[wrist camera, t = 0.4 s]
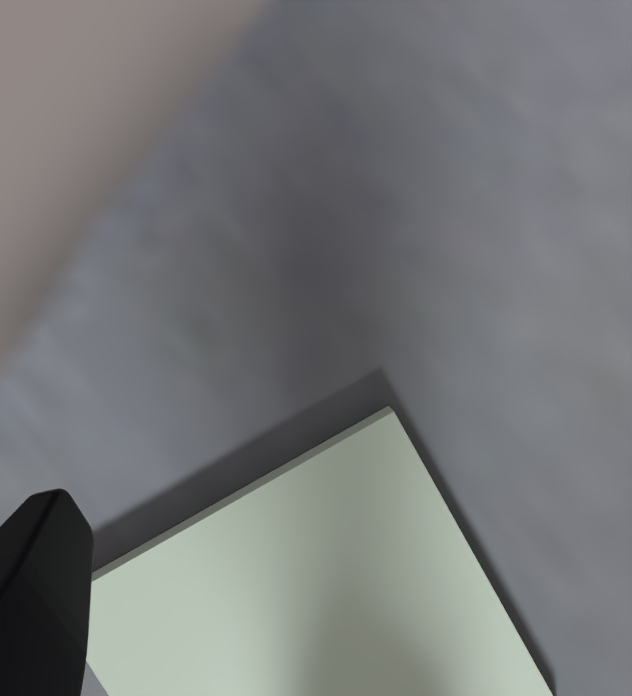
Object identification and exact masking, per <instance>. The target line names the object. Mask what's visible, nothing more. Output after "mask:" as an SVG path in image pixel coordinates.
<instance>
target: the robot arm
mask: <svg viewBox="0 0 632 696" xmlns="http://www.w3.org/2000/svg"><path fill="white" fill-rule="evenodd" d="M93 549H94V539H93V533H92V530H91V527H90V525H89V523H88V522H87V520H86V519H85V517H84V516H83V514H82V513H81V511H80V509H79V508H78V506H77V505H76V503H75V502H74V500H73V499H72V497H71V496H70V494H69V493H68V492H67V491H65V490H64V489H53V490H49V491H44V492H40V493H36V494H33V495H31V496H30V497H29V498H28V499H26V500H25V501H24V503H23V504H22V505H21V506H20V507H19V508H18V509H17V510H16V511H15V512H14V513H13V514H12V515H11V516H10V517H9V518H8V519H7V520H6V521H5V522H4V523H3V524H2V525H1V527H0V696H80V695H81V689H82V683H83V677H84V671H85V664H86V657H87V647H88V636H89V619H90V601H91V584H92V567H93Z"/></svg>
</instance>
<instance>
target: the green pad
mask: <svg viewBox="0 0 632 696" xmlns="http://www.w3.org/2000/svg"><path fill="white" fill-rule="evenodd" d="M86 661H87V662H88V664H89V666H90V667H91V669H92V670H93V672H94V673H95V675H96V676H97V678H98V680H99V681H100V683H101V684H102V686H103V687H104V689H105V690H106V692H107V694H108V695H109V696H553V695H552V693H551V691H550V690H549V688H548V686H547V684H546V682H545V681H544V679H543V677H542V675H541V673H540V672H539V670H538V668H537V666H536V665H535V663H534V661H533V659H532V657H531V656H530V654H529V652H528V650H527V648H526V647H525V645H524V643H523V641H522V639H521V638H520V636H519V634H518V632H517V631H516V629H515V627H514V625H513V623H512V622H511V620H510V618H509V616H508V614H507V613H506V611H505V609H504V607H503V605H502V604H501V602H500V600H499V598H498V597H497V595H496V593H495V591H494V589H493V588H492V586H491V584H490V582H489V580H488V579H487V577H486V575H485V573H484V571H483V570H482V568H481V566H480V564H479V563H478V561H477V559H476V557H475V555H474V554H473V552H472V550H471V548H470V546H469V545H468V543H467V541H466V539H465V537H464V536H463V534H462V532H461V530H460V529H459V527H458V525H457V523H456V521H455V520H454V518H453V516H452V514H451V512H450V511H449V509H448V507H447V505H446V503H445V502H444V500H443V498H442V496H441V495H440V493H439V491H438V489H437V487H436V486H435V484H434V482H433V480H432V478H431V477H430V475H429V473H428V471H427V469H426V468H425V466H424V464H423V462H422V461H421V459H420V457H419V455H418V453H417V452H416V450H415V448H414V446H413V444H412V443H411V441H410V439H409V437H408V436H407V434H406V432H405V430H404V428H403V427H402V425H401V423H400V421H399V419H398V418H397V416H396V414H395V412H394V411H393V410H392V409H391V408H390V406H389V405H388V406H387V407H385V408H383V409H381V410H380V411H378V412H376V413H374V414H373V415H371V416H369V417H367V418H365V419H364V420H362V421H360V422H358V423H357V424H355V425H353V426H351V427H350V428H348V429H346V430H344V431H342V432H341V433H339V434H337V435H335V436H334V437H332V438H330V439H328V440H327V441H325V442H323V443H321V444H319V445H318V446H316V447H314V448H312V449H311V450H309V451H307V452H305V453H304V454H302V455H300V456H298V457H296V458H295V459H293V460H291V461H289V462H288V463H286V464H284V465H282V466H281V467H279V468H277V469H275V470H273V471H272V472H270V473H268V474H266V475H265V476H263V477H261V478H259V479H257V480H256V481H254V482H252V483H250V484H249V485H247V486H245V487H243V488H242V489H240V490H238V491H236V492H234V493H233V494H231V495H229V496H227V497H226V498H224V499H222V500H220V501H219V502H217V503H215V504H213V505H211V506H210V507H208V508H206V509H204V510H203V511H201V512H199V513H197V514H196V515H194V516H192V517H190V518H188V519H187V520H185V521H183V522H181V523H180V524H178V525H176V526H174V527H173V528H171V529H169V530H167V531H165V532H164V533H162V534H160V535H158V536H157V537H155V538H153V539H151V540H150V541H148V542H146V543H144V544H142V545H141V546H139V547H137V548H135V549H134V550H132V551H130V552H128V553H127V554H125V555H123V556H121V557H119V558H118V559H116V560H114V561H112V562H111V563H109V564H107V565H105V566H104V567H102V568H100V569H98V570H96V571H95V572H93V573H92V584H91V601H90V619H89V636H88V647H87V657H86Z"/></svg>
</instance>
